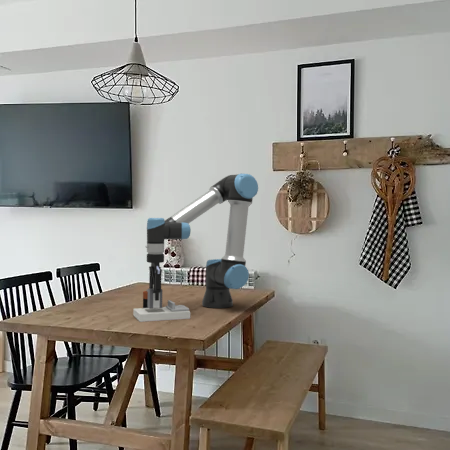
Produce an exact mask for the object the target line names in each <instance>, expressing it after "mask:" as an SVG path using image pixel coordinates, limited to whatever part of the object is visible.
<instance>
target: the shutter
mask: <svg viewBox="0 0 450 450" xmlns="http://www.w3.org/2000/svg"><path fill="white" fill-rule="evenodd" d="M165 307H166V308H168V309H169V310H171V311H183V310H188V311H190V308H189V307H188V306H185V305H184V304H176V302H174V301H172V300H170V299H168V300H167V305H165Z"/></svg>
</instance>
